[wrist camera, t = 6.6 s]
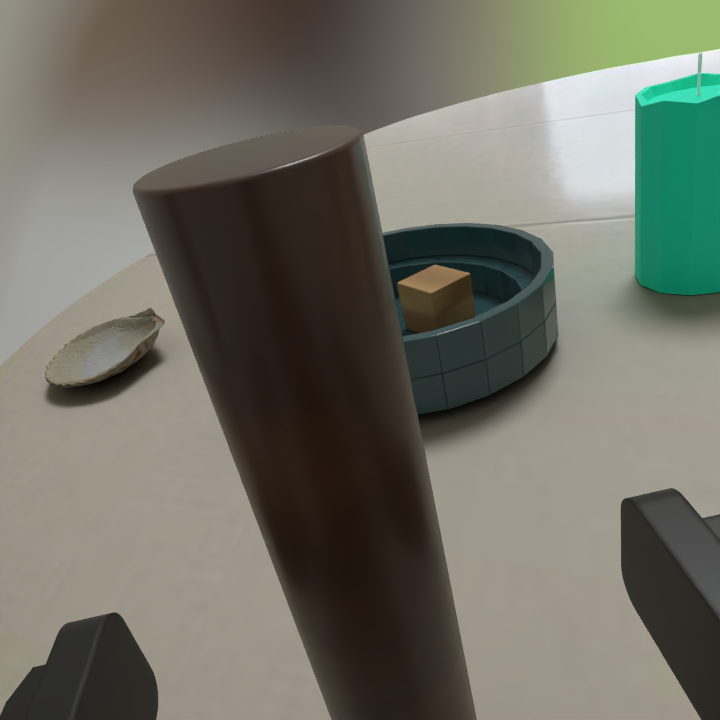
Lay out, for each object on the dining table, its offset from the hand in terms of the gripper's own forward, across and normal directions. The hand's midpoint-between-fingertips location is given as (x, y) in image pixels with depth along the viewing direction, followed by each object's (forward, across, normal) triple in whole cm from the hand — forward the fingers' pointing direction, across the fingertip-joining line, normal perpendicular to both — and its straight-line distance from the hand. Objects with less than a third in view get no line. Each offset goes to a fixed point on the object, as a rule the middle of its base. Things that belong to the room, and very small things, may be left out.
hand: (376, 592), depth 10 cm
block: (+26, -5, +8) cm, 28 cm away
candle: (+26, -20, +9) cm, 35 cm away
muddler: (-1, 0, +9) cm, 9 cm away
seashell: (+32, +16, +9) cm, 37 cm away
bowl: (+25, -4, +9) cm, 27 cm away
